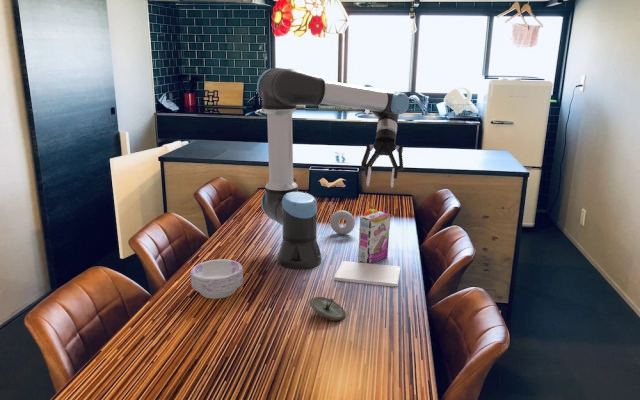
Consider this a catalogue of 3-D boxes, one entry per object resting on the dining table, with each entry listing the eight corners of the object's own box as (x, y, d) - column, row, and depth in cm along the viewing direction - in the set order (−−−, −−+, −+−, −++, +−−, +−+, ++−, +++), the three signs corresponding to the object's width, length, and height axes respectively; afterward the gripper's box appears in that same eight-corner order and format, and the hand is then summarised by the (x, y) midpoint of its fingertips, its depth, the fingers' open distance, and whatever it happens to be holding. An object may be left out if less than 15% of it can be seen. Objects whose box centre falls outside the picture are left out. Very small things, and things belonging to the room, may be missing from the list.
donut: (355, 234, 204) (356, 210, 202) (353, 236, 201) (354, 212, 199) (331, 231, 207) (331, 208, 204) (329, 234, 204) (329, 210, 201)
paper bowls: (188, 286, 156) (186, 262, 154) (236, 278, 162) (235, 255, 160) (196, 308, 143) (195, 282, 140) (249, 298, 148) (248, 273, 146)
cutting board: (342, 263, 175) (342, 260, 174) (400, 269, 170) (400, 266, 170) (334, 280, 162) (334, 277, 161) (397, 286, 157) (397, 283, 157)
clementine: (380, 228, 212) (381, 211, 210) (364, 227, 212) (364, 211, 210) (379, 222, 220) (379, 206, 218) (363, 221, 220) (363, 206, 218)
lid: (310, 305, 145) (310, 289, 143) (345, 306, 145) (345, 290, 143) (308, 324, 135) (308, 307, 133) (346, 325, 134) (346, 308, 133)
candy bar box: (368, 265, 173) (370, 220, 169) (357, 261, 177) (359, 216, 172) (388, 257, 181) (391, 213, 176) (377, 253, 184) (379, 210, 180)
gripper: (413, 141, 194) (409, 192, 183) (360, 138, 198) (352, 188, 187) (414, 128, 187) (408, 181, 177) (358, 126, 192) (350, 177, 181)
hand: (379, 184), depth 182 cm, fingers open, 8 cm apart
